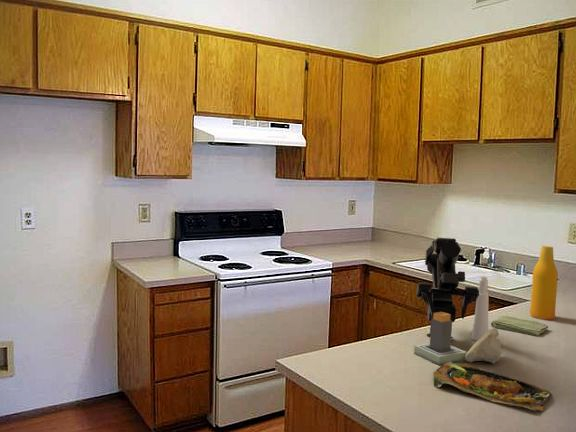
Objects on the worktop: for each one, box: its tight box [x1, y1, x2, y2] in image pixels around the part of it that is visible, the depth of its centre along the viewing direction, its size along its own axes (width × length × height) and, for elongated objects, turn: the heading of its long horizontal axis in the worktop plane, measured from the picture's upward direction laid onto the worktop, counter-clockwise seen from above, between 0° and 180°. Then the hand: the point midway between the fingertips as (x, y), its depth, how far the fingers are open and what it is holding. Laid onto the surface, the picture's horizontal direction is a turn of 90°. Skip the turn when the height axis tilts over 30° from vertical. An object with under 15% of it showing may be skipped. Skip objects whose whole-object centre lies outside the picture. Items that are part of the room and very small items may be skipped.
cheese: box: [465, 327, 502, 364], centre depth 163 cm, size 15×7×15 cm
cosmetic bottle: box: [470, 275, 489, 342], centre depth 183 cm, size 6×6×22 cm
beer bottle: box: [529, 245, 559, 321], centre depth 215 cm, size 9×9×29 cm
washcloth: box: [490, 315, 549, 337], centre depth 199 cm, size 13×18×3 cm
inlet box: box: [413, 342, 467, 366], centre depth 165 cm, size 11×11×3 cm
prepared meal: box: [432, 362, 552, 413], centre depth 141 cm, size 28×4×18 cm
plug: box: [429, 312, 453, 353], centre depth 164 cm, size 4×4×13 cm
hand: (447, 317), depth 166 cm, fingers open, 9 cm apart
